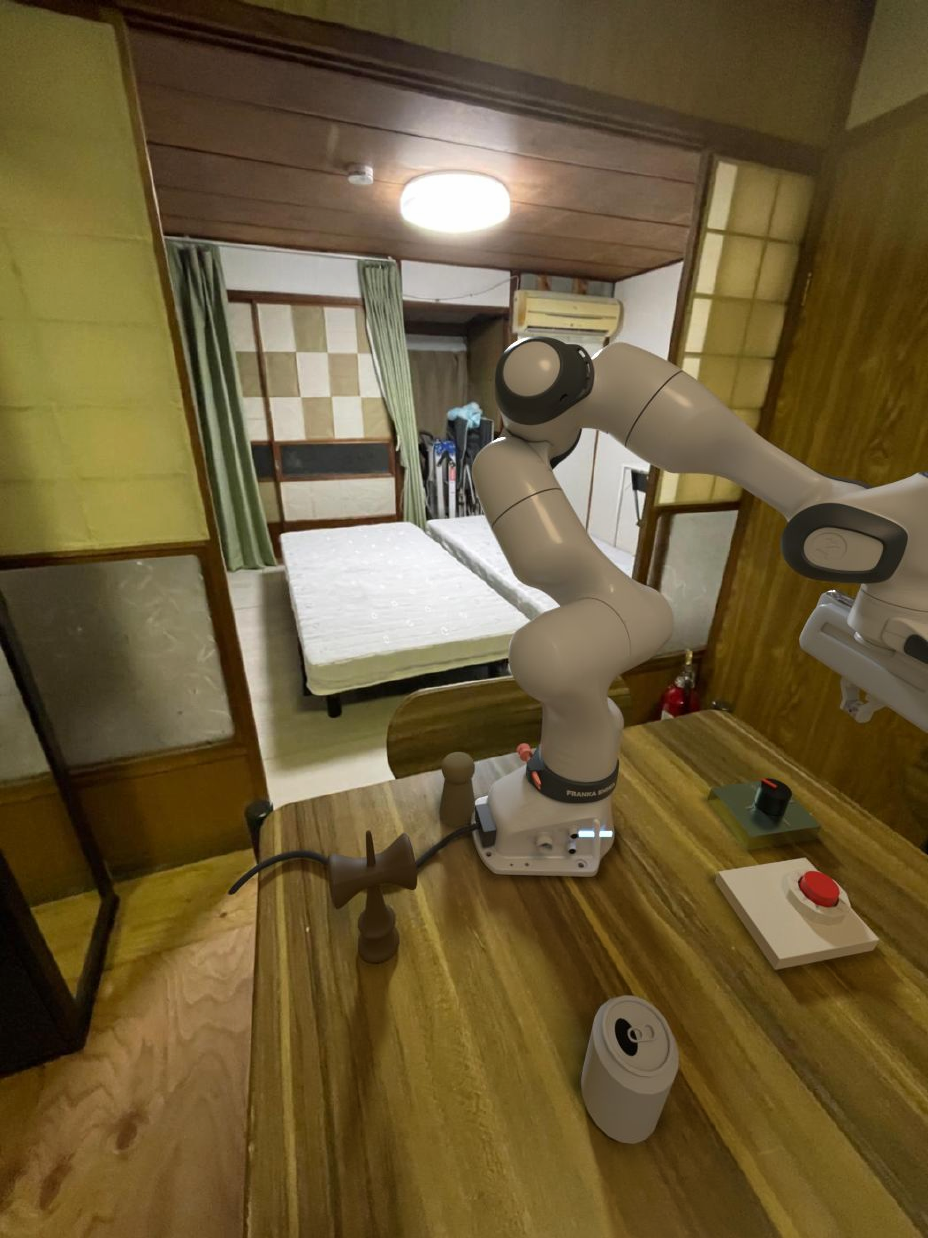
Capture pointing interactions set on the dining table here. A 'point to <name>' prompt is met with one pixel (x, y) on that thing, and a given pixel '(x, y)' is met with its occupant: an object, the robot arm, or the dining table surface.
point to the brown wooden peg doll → (457, 789)
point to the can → (628, 1068)
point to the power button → (819, 888)
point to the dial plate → (761, 818)
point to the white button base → (792, 915)
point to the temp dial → (773, 796)
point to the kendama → (373, 892)
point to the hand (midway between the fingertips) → (853, 715)
